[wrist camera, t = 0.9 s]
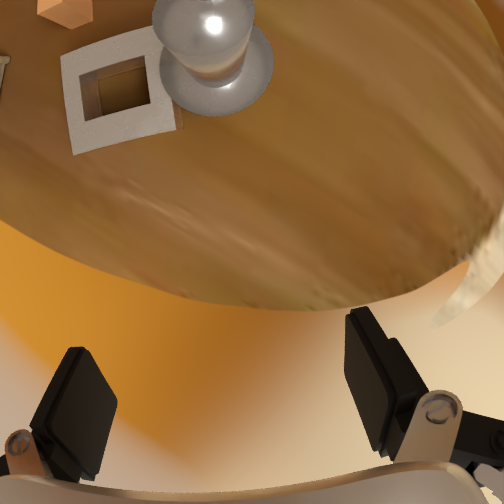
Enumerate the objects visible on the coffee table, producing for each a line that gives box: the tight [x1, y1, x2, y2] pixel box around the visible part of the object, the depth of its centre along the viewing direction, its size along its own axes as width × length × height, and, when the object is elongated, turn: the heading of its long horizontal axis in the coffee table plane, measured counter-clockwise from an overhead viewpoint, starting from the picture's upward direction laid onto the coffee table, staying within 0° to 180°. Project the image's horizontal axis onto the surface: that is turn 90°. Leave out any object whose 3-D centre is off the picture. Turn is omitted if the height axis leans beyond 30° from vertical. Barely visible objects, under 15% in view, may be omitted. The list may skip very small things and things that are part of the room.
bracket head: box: [60, 0, 274, 155], centre depth 21 cm, size 11×20×20 cm, turn 97°
